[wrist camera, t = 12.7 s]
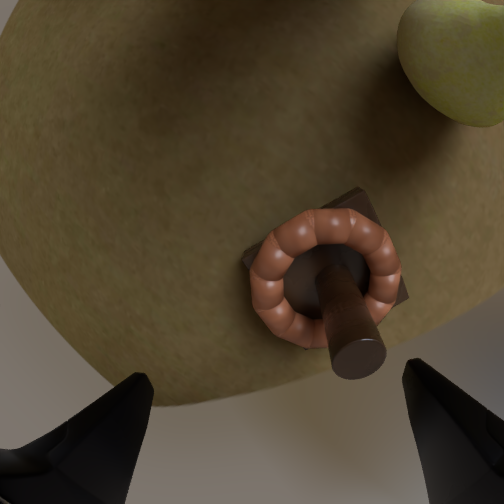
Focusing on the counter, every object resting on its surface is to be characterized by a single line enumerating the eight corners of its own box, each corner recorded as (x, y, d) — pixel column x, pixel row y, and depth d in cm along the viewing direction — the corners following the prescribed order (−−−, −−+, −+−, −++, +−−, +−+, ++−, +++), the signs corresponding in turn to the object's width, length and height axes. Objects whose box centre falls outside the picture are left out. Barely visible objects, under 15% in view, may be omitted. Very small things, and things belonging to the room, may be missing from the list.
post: (304, 338, 17) (310, 433, 10) (244, 250, 15) (216, 333, 9) (402, 288, 15) (454, 368, 8) (358, 186, 13) (423, 225, 7)
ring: (297, 353, 16) (298, 372, 15) (223, 256, 14) (216, 270, 13) (410, 294, 14) (420, 309, 12) (355, 175, 12) (365, 180, 10)
